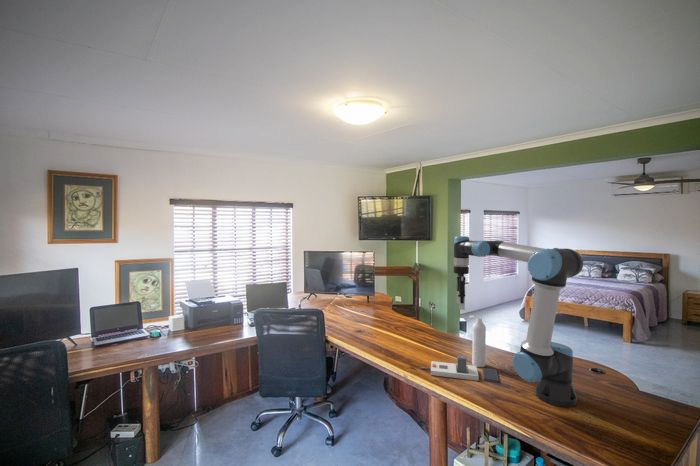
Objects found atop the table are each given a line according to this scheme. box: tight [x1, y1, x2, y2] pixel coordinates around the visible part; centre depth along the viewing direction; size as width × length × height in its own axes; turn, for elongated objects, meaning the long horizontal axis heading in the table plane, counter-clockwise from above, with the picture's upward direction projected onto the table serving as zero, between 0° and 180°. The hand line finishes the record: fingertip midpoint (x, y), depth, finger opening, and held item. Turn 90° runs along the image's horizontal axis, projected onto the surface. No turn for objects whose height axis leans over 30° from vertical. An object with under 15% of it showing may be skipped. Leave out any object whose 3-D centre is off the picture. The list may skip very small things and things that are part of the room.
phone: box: [481, 367, 499, 383], centre depth 164 cm, size 6×12×2 cm, turn 161°
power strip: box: [419, 360, 480, 382], centre depth 169 cm, size 28×12×3 cm, turn 75°
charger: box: [456, 354, 467, 374], centre depth 167 cm, size 4×4×8 cm
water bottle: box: [469, 315, 487, 368], centre depth 178 cm, size 9×6×25 cm
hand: (460, 306), depth 176 cm, fingers open, 13 cm apart
